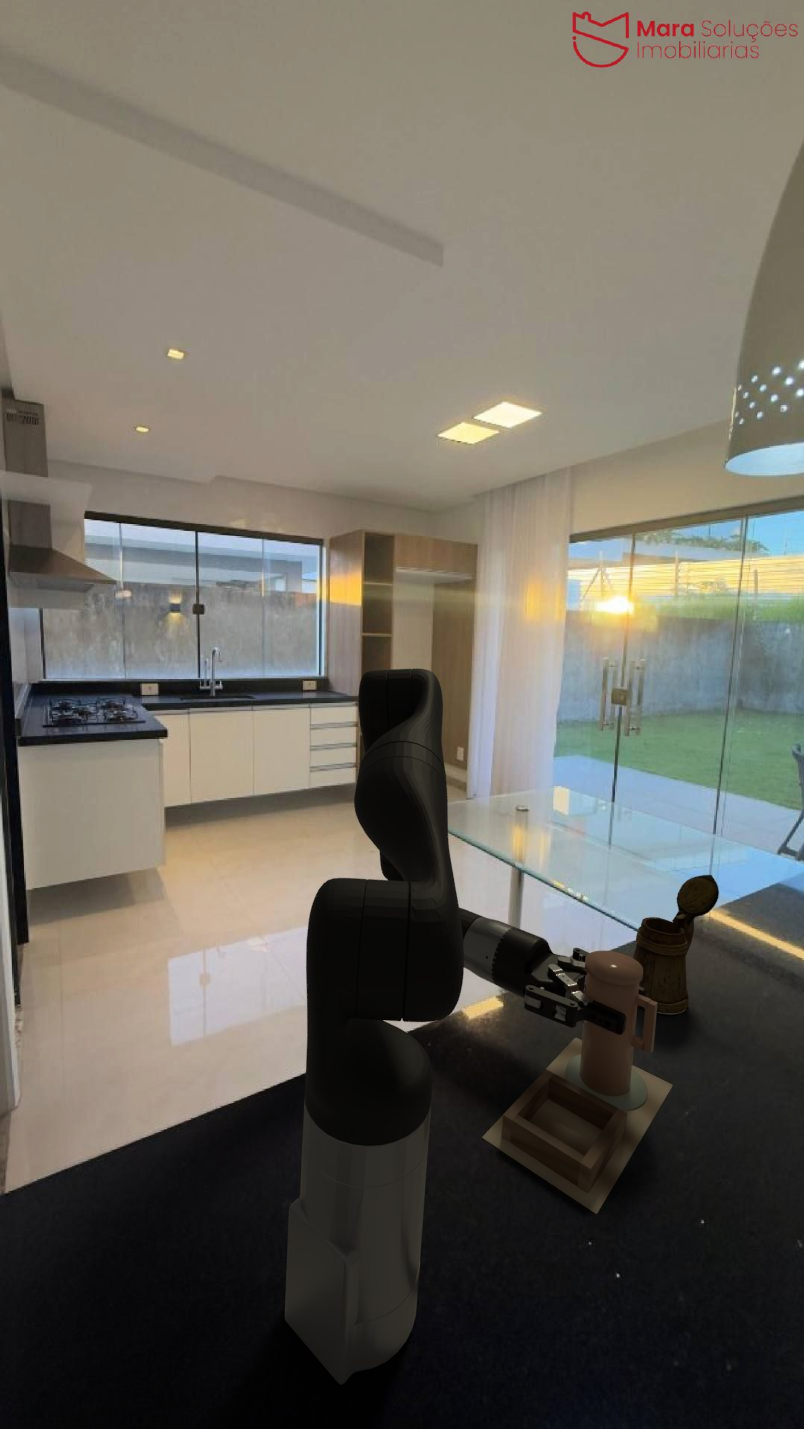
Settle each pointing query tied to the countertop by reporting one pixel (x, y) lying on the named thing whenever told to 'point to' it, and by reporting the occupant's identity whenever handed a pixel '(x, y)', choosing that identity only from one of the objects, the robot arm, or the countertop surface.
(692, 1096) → the countertop surface
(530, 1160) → the board
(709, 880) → the wooden mug
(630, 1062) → the tall brown tankard
